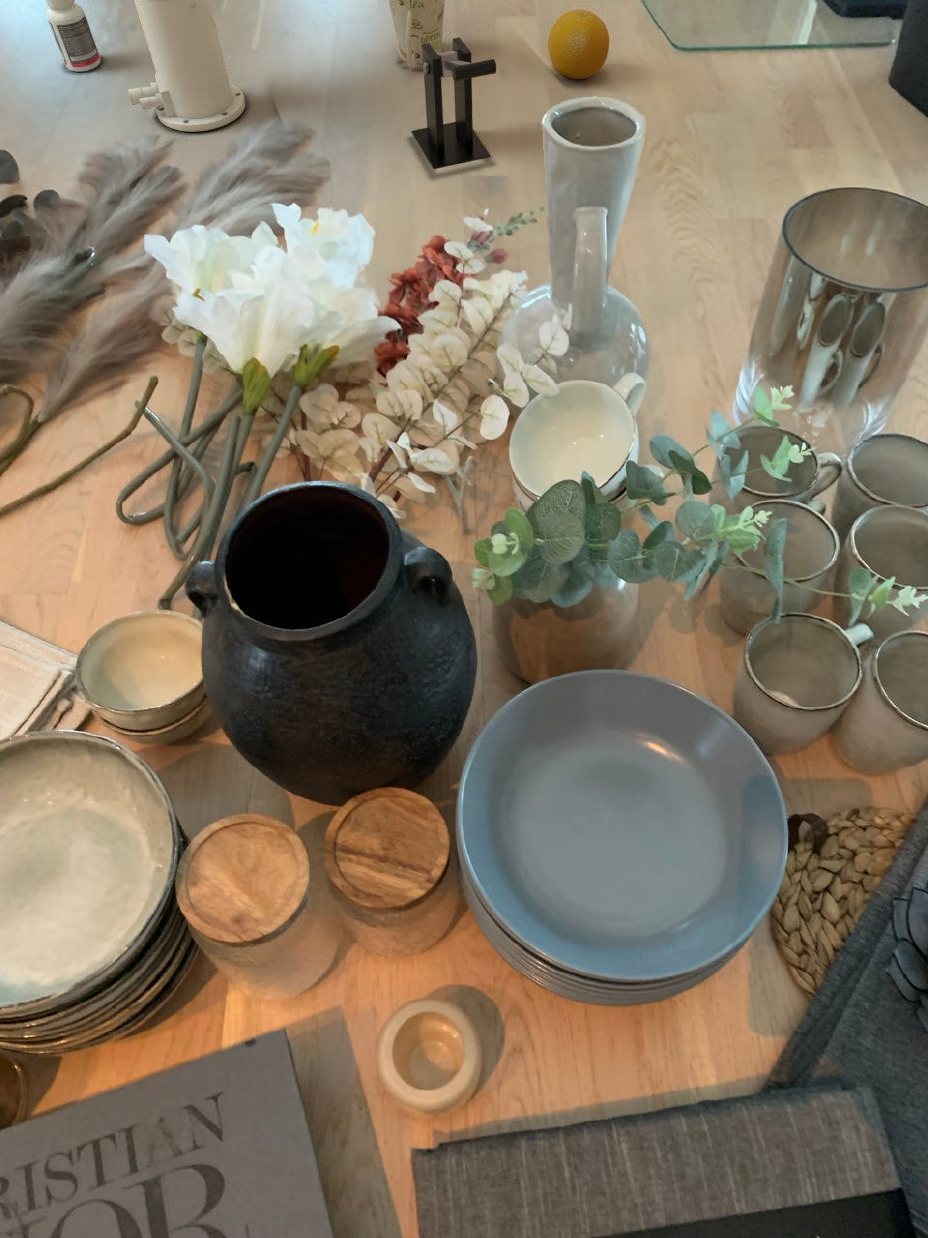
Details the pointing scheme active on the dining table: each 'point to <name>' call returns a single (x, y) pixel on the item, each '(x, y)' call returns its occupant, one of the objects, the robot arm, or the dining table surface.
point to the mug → (417, 27)
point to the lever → (464, 67)
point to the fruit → (578, 44)
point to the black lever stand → (442, 139)
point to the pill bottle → (72, 35)
